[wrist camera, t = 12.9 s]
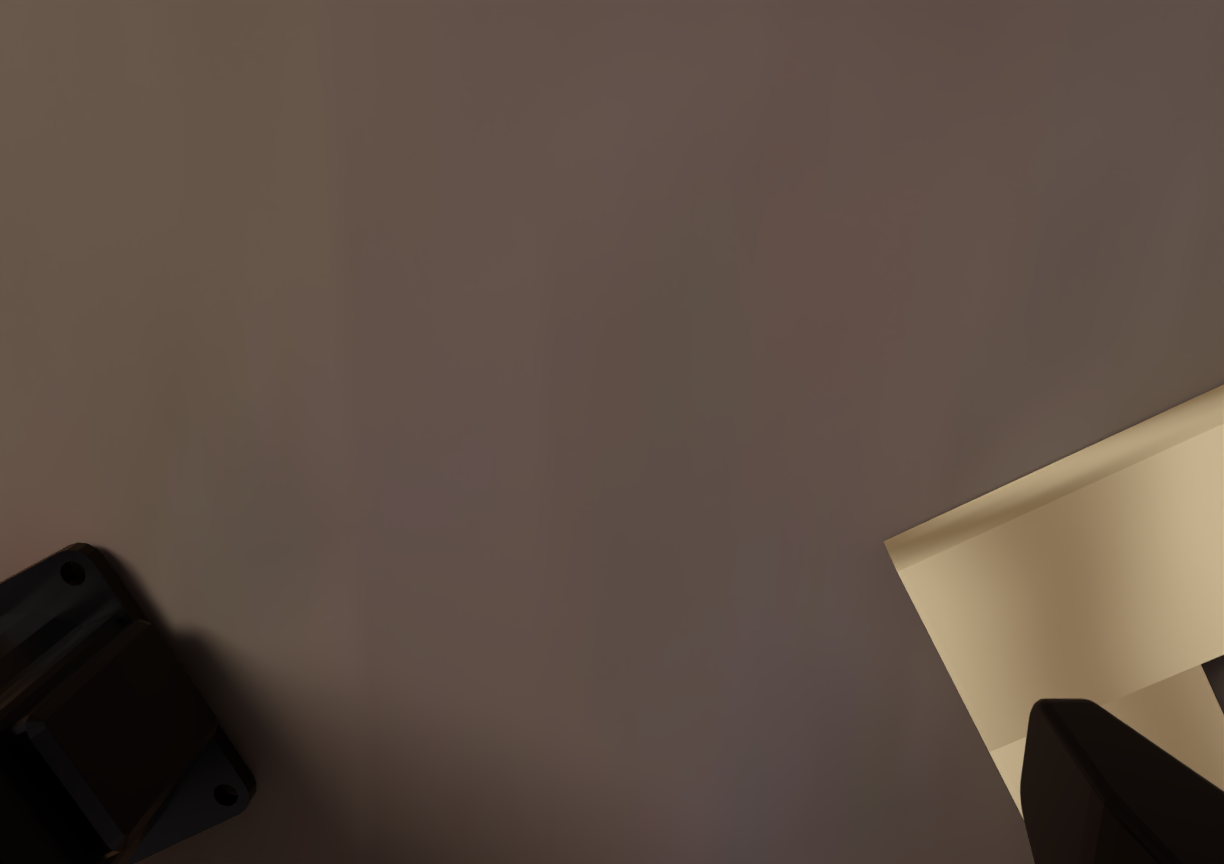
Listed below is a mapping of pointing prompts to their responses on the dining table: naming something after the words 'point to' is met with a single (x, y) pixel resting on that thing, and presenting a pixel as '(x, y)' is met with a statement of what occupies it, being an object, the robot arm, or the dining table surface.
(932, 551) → the puzzle board
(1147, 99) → the dining table surface
